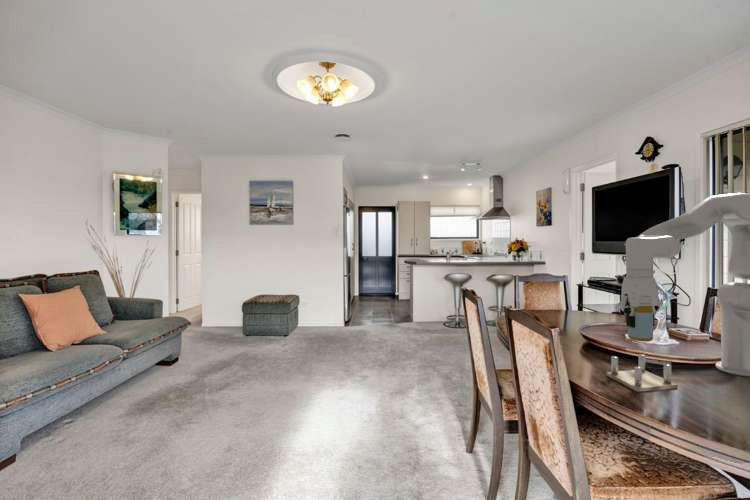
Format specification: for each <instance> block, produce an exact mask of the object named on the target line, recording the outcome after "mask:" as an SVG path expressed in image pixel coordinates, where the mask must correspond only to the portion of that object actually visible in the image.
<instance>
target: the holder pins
mask: <svg viewBox="0 0 750 500" xmlns="http://www.w3.org/2000/svg"><path fill="white" fill-rule="evenodd" d="M637 356H638V359H637V360H638V365H637V366H634V369H633V370H634V374H635V386H638V387H642V372H643V373H645V372H646V371H645V367H646V362H645V358H646V354H642V353H639V354H638V355H637ZM610 358H611V359H610V362H611V372H612V374H614V375H618V371H619V357H618V356H615V355H612V356H611V357H610ZM663 369H664V375H663V379H664V383H666V384H672V382H673V381H672V364H671V365H669V364H664V365H663Z"/></svg>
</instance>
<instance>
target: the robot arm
mask: <svg viewBox="0 0 750 500" xmlns="http://www.w3.org/2000/svg"><path fill="white" fill-rule="evenodd" d="M719 222H722V224H724V225H725V227H726V228H727V229H728V231H729V232H730V234H731V236H732V247H731V250H730V258H729V262H728V273H729V274H730V276H731V277H733V278H736V279H740V280H746V281H748V280H749V281H750V193H747V192H746V193H744V192H737V193H736V192H735V193H727V194H726V193H725V194H718V195H717V194H716V195H712V196H709V197H707V198H705V199H704V200H702V201H700V202H699V203H698V204H696V205H695V206H693V207H691V208H690V209H689V210H687V211H686V212H684V213H682V214H681V215H678V216H677V217H673V218H671V219H668V220H666V221H663V222H661V223H659V224H656V225H654V226H652V227H649V228H648V229H646V230H644V231H643V232H642V233H640V234H639V235H638V236H635V237H629V238H627V239H626V240H625V268H626V269H625V270H626V272H625V275H626V276H625V277H623V280H622V284H621V295H620V296H621V297H620V301H619V302H618V303H617V308H619V309H620V310H621V311H622V312H623V313H624V315H626V317H625V321H626V326H627V327H628V326H629V327H632V328H635V316H633V315H634V312H635V308H637V307H639V304H640V297H649V296H651V306H652V309H653V327H655V324H656V323H655V315H657V312H658V310H659V309H660V307H661V306H662V305H663V303H664V302H663V301H662V300H661V299H660V298H659V297H658V295H659V294H658V285H657V282H656V278H655V277H654V274H655V273H656V270H655V269H654V258H657V259H659V258H660V259H670V258H674V257H676V256H677V255H679V253H680V252H681V250H682V243H681V242H680V240H683V239H688V238H689V239H690V238H693V237H697V236H699V235H702V234H703V233H705V232H706V231H707V230H709V229H710V228H712V227H713V226H715V225H716V224H718V223H719ZM716 299H717V302H718V305H719V309H720V339H721V340H720V341H721V342H720V343H721V345H720V349H721V350H720V351H721V352H720V353H721V355H720V356H721V357H720V358H721V359H720V360H721V361H717V362H716V363H715V367H716V369H718V370H720V371H721V372H725V373H728V374H732V375H735V376H741V377H750V283H746V282H738V281H737V282H726V283H723V284H722V285H720V286H719V287H718V289H717V293H716ZM629 308H631V310H629Z"/></svg>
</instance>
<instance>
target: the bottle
mask: <svg viewBox="0 0 750 500" xmlns="http://www.w3.org/2000/svg"><path fill="white" fill-rule="evenodd" d="M629 310H631V308H629ZM633 316H635V328H632V327H629V326H627V336H628V338H629V340H632V341H636V342H643V343H644V342H646V343H648V342H652V341H653V339H654V326H653V309H652V306H651V296H649V297H640V304H639V307H637V308H635V312H634V315H633Z"/></svg>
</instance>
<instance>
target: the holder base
mask: <svg viewBox="0 0 750 500" xmlns="http://www.w3.org/2000/svg"><path fill="white" fill-rule="evenodd" d="M606 376H607V377H609V378H610V379H613V380H614V381H616V382H618V383H620V384H622V385H624V386H626V387H628V388H630V389H631V390H634V391H635V392H637V393H639V392H651V391H662V390H673V389H678V387H679V386H678V384H676V383H674V382H673V381H671V382H672V384H666V383H664V377H661V376H659V375H657V374H655V373H650V372H648V371H646V372H645V373H643V372H642V387H638V386H635V374H634V369H630V370H629V369H628V370H618V375H614V374H612V371H606Z"/></svg>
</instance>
